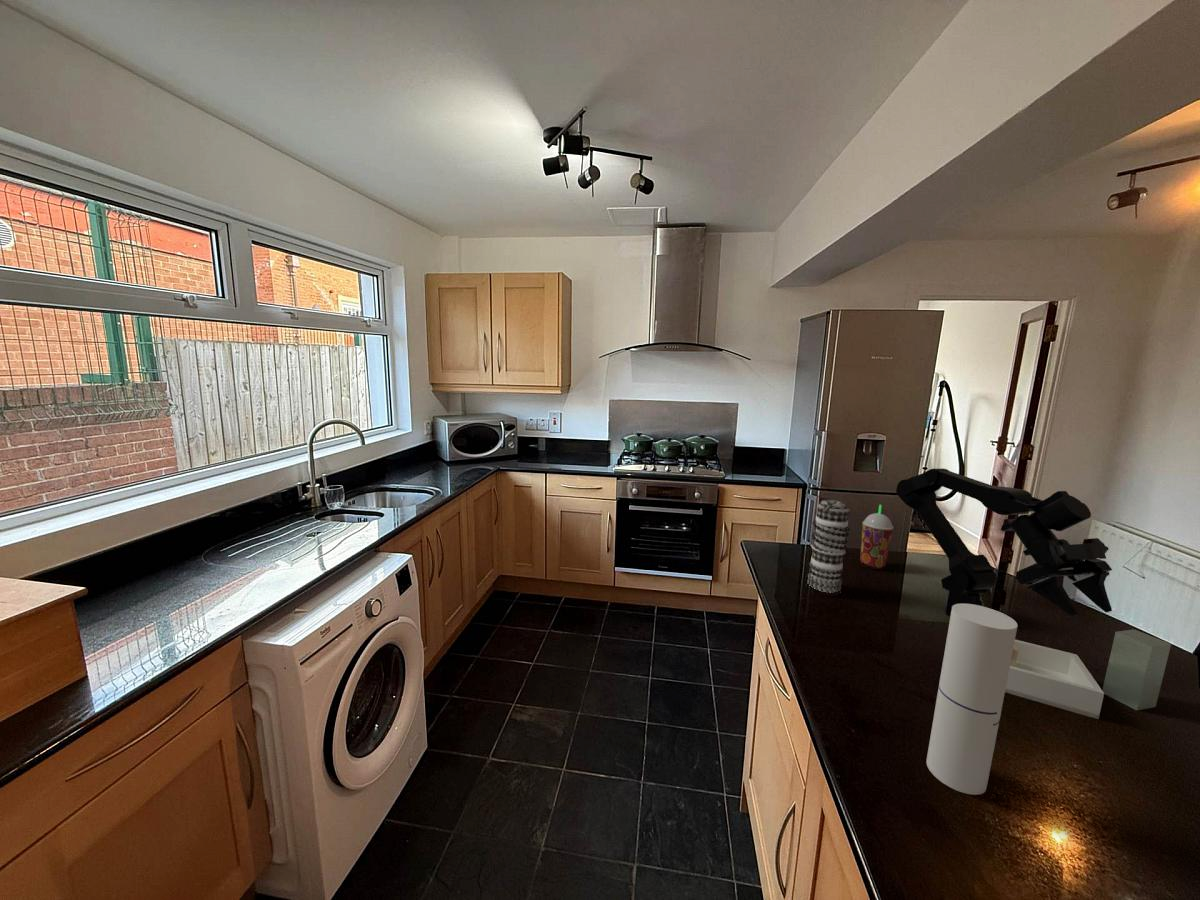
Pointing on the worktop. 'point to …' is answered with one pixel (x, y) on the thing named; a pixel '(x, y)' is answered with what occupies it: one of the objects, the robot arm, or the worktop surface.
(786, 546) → the worktop surface
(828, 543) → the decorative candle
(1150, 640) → the sage tin
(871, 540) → the smoothie
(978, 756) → the cylindrical container
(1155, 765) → the worktop surface
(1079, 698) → the white tote
